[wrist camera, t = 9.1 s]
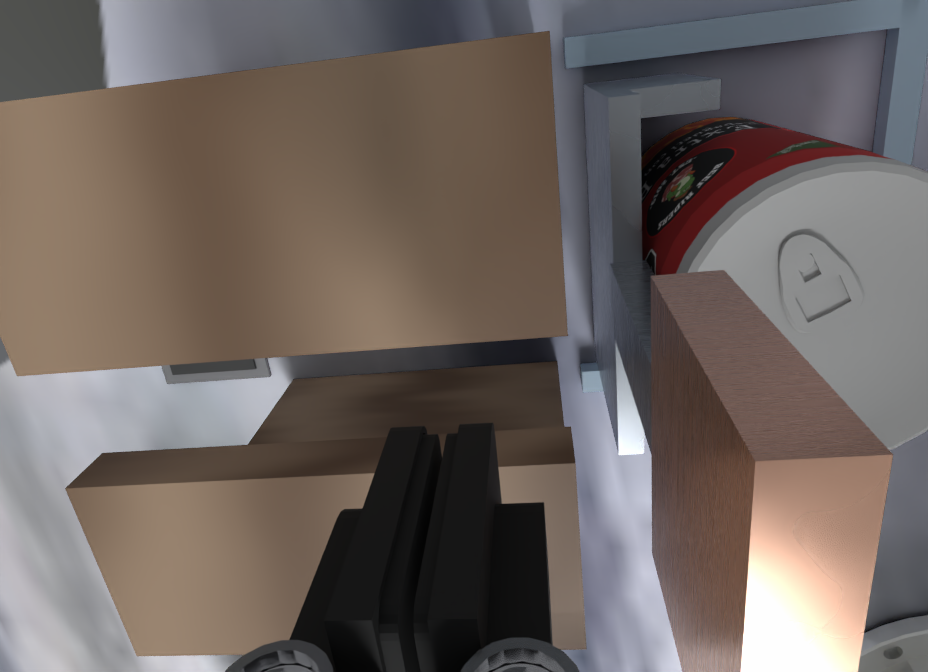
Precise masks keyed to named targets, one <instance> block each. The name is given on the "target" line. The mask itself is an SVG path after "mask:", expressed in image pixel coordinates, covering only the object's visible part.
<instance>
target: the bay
mask: <svg viewBox="0 0 928 672" xmlns="http://www.w3.org/2000/svg"><path fill="white" fill-rule="evenodd" d="M885 29H887V37H886V45H885V53H884V61H883V70H882V78H881V86H880V94H879V102H878V110H877V118H876V126H875V135H874V143H873V151H872V152H873V153H876V154H879V155H881V156H884V157H888V158H891V159H895V160H898V161H900V162H903V163H906V164H908V165H911V164H912V158H913V151H914V144H915V137H916V130H917V124H918V117H919V110H920V103H921V96H922V89H923V83H924V76H925V69H926V62H927V55H928V0H854V1H846V2H839V3H831V4H823V5H815V6H808V7H800V8H792V9H784V10H776V11H769V12H761V13H753V14H745V15H738V16H730V17H722V18H714V19H706V20H699V21H691V22H683V23H675V24H668V25H660V26H652V27H644V28H636V29H629V30H621V31H613V32H605V33H598V34H590V35H582V36H574V37H566V38H563V40H564V59H565V68H566V69H567V68H575V67H583V66H592V65H600V64H608V63H616V62H624V61H632V60H640V59H649V58H657V57H665V56H673V55H681V54H689V53H697V52H706V51H714V50H722V49H730V48H738V47H746V46H754V45H763V44H771V43H779V42H787V41H795V40H803V39H812V38H820V37H828V36H836V35H844V34H852V33H860V32H869V31H877V30H885ZM581 383H582V390H583V393H586V392H602V391H604V390H603V386H602V382H601V377H600V373H599V369H598V365H597V363H584V364H581Z"/></svg>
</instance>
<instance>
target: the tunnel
mask: <svg viewBox="0 0 928 672" xmlns="http://www.w3.org/2000/svg"><path fill="white" fill-rule="evenodd" d="M558 336H568V332H567V315H566V298H565V282H564V265H563V248H562V232H561V215H560V198H559V181H558V165H557V148H556V131H555V115H554V98H553V81H552V64H551V48H550V31H545V32H537V33H529V34H522V35H514V36H506V37H499V38H491V39H483V40H476V41H468V42H460V43H453V44H445V45H437V46H430V47H422V48H414V49H407V50H399V51H391V52H383V53H376V54H368V55H360V56H353V57H345V58H337V59H330V60H322V61H314V62H307V63H299V64H291V65H284V66H276V67H268V68H261V69H253V70H245V71H238V72H230V73H222V74H214V75H207V76H199V77H191V78H184V79H176V80H168V81H161V82H153V83H145V84H138V85H130V86H122V87H115V88H107V89H99V90H92V91H84V92H76V93H69V94H61V95H53V96H45V97H38V98H30V99H23V100H15V101H7V102H0V337H1V339H2V342H3V344H4V346H5V349H6V351H7V353H8V356H9V358H10V360H11V363H12V365H13V367H14V370H15V372H16V374H17V376H26V375H40V374H54V373H67V372H81V371H94V370H108V369H122V368H135V367H149V366H163V365H176V364H190V363H204V362H217V361H231V360H245V359H258V358H272V357H285V356H299V355H313V354H326V353H340V352H354V351H367V350H381V349H395V348H408V347H422V346H436V345H449V344H463V343H477V342H490V341H504V340H517V339H531V338H545V337H558ZM472 423H493V424H494V429H495V438H496V448H497V458H498V468H499V479H500V489H501V499H502V504H508V503H537V502H544V508H545V522H546V536H547V551H548V567H549V584H550V602H551V621H552V640H553V646H555V647H556V648H558V649H560V650H576V649H586V633H585V616H584V599H583V583H582V566H581V549H580V532H579V516H578V499H577V482H576V466H575V456H574V448H573V441H572V433H571V427H564V421H563V411H562V402H561V393H560V384H559V374H558V365H557V361H552V362H538V363H523V364H509V365H494V366H480V367H465V368H451V369H436V370H421V371H407V372H392V373H378V374H363V375H349V376H334V377H320V378H305V379H293V381H292V382H291V384H290V385H289V387H288V388H287V389H286V391H285V392H284V394H283V395H282V397H281V398H280V399H279V401H278V402H277V404H276V405H275V407H274V408H273V409H272V411H271V412H270V414H269V415H268V417H267V418H266V419H265V421H264V422H263V424H262V425H261V427H260V428H259V429H258V431H257V432H256V434H255V435H254V437H253V438H252V439H251V441H250V442H249V444H248V445H237V446H219V447H202V448H184V449H166V450H149V451H131V452H113V453H102V454H101V455H100V456H99V457H98V458H97V459H96V460H95V461H94V462H93V463H92V464H90V465H89V466H88V467H87V468H86V469H85V470H84V471H83V472H82V473H81V474H80V475H79V476H78V477H77V478H76V479H75V480H74V481H73V482H72V483H71V484H70V485H68V486H67V487H66V488H65V489H66V491H67V494H68V496H69V498H70V501H71V503H72V505H73V508H74V510H75V512H76V515H77V517H78V519H79V522H80V524H81V526H82V529H83V531H84V533H85V536H86V538H87V540H88V543H89V545H90V547H91V550H92V552H93V554H94V557H95V559H96V561H97V564H98V566H99V569H100V571H101V573H102V576H103V578H104V580H105V583H106V585H107V587H108V590H109V592H110V594H111V597H112V599H113V601H114V604H115V606H116V608H117V611H118V613H119V615H120V618H121V620H122V622H123V625H124V627H125V629H126V632H127V634H128V636H129V639H130V641H131V643H132V646H133V648H134V650H135V653H136V655H137V656H181V655H245V654H247V653H249V652H251V651H253V650H254V649H256V648H258V647H260V646H262V645H265V644H269V643H273V642H277V641H280V640H289V639H290V637H291V634H292V632H293V629H294V627H295V624H296V622H297V619H298V616H299V614H300V611H301V609H302V606H303V604H304V601H305V599H306V596H307V593H308V591H309V588H310V586H311V583H312V581H313V578H314V576H315V573H316V570H317V568H318V565H319V563H320V560H321V558H322V555H323V553H324V550H325V547H326V545H327V542H328V540H329V537H330V535H331V532H332V530H333V527H334V525H335V522H336V519H337V517H338V515H339V514H340V512H341V511H342V510H344V509H361V508H363V506H364V503H365V500H366V497H367V494H368V491H369V488H370V485H371V482H372V479H373V476H374V474H375V471H376V468H377V465H378V462H379V459H380V456H381V453H382V450H383V447H384V445H385V442H386V439H387V436H388V433H389V430H390V429H391V428H392V427H410V426H425V427H426V430H427V434H438V436H439V440H440V446H441V453H442V456H443V451H444V445H445V440H446V436H447V434H448V433H458V429H459V425H460V424H472Z"/></svg>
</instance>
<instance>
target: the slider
mask: <svg viewBox="0 0 928 672" xmlns="http://www.w3.org/2000/svg"><path fill="white" fill-rule="evenodd" d="M720 94H721V79H717V78H710V77H703V76H696V75H689V74H682V73H672V74H664V75H655V76H647V77H638V78H630V79H622V80H613V81H605V82H597V83H588V84H584V108H585V131H586V155H587V178H588V202H589V225H590V249H591V272H592V295H593V319H594V342H595V356H596V361H597V365H598V369H599V373H600V377H601V382H602V386H603V390H604V394H605V399H606V403H607V407H608V411H609V416H610V420H611V424H612V428H613V433H614V437H615V441H616V445H617V450H618V454H619V455H628V454H644V432H645V435H646V439H647V442H648V445H649V448H650V451H651V454H652V554H653V558H654V562H655V566H656V570H657V574H658V578H659V581H660V585H661V589H662V593H663V597H664V601H665V605H666V609H667V613H668V617H669V621H670V624H671V628H672V632H673V636H674V640H675V644H676V648H677V652H678V656H679V660H680V663H681V667H682V671H683V672H858V666H859V660H860V654H861V648H862V642H863V636H864V630H865V624H866V617H867V611H868V605H869V599H870V593H871V587H872V581H873V575H874V569H875V563H876V556H877V550H878V544H879V538H880V532H881V526H882V520H883V514H884V508H885V501H886V495H887V489H888V483H889V477H890V471H891V465H892V459H893V454H892V453H891V452H890V451H889V450H888V448H887V447H886V446H885V445H884V444H883V443H882V442H881V441H880V440H879V439H878V438H877V436H876V435H875V434H874V433H873V432H872V431H871V430H870V429H869V428H868V427H867V426H866V424H865V423H864V422H863V421H862V420H861V419H860V418H859V417H858V416H857V415H856V414H855V412H854V411H853V410H852V409H851V408H850V407H849V406H848V405H847V404H846V403H845V402H844V400H843V399H842V398H841V397H840V396H839V395H838V394H837V393H836V392H835V391H834V390H833V388H832V387H831V386H830V385H829V384H828V383H827V382H826V381H825V380H824V379H823V377H822V376H821V375H820V374H819V373H818V372H817V371H816V370H815V369H814V368H813V367H812V365H811V364H810V363H809V362H808V361H807V360H806V359H805V358H804V357H803V356H802V355H801V353H800V352H799V351H798V350H797V349H796V348H795V347H794V346H793V345H792V344H791V343H790V341H789V340H788V339H787V338H786V337H785V336H784V335H783V334H782V333H781V332H780V331H779V329H778V328H777V327H776V326H775V325H774V324H773V323H772V322H771V321H770V320H769V318H768V317H767V316H766V315H765V314H764V313H763V312H762V311H761V310H760V309H759V308H758V306H757V305H756V304H755V303H754V302H753V301H752V300H751V299H750V298H749V297H748V296H747V294H746V293H745V292H744V291H743V290H742V289H741V288H740V287H739V286H738V285H737V284H736V282H735V281H734V280H733V279H732V278H731V277H730V276H729V275H728V274H727V273H726V272H725V270H716V271H704V272H692V273H680V274H668V275H654V273H653V271H652V270H651V268H650V266H649V265H648V263H647V261H646V260H642V188H641V118H647V117H656V116H665V115H674V114H683V113H692V112H701V111H709V110H718V109H720Z"/></svg>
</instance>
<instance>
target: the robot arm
mask: <svg viewBox="0 0 928 672" xmlns="http://www.w3.org/2000/svg"><path fill="white" fill-rule="evenodd" d="M225 672H579V670H578V667H577V665H576V664H575V663H574V662H573V661H572V660H571V659H570V658H569V657H568V656H567V655H566V654H565V652H563V651H562V650H560V649H558V648H556V647H555V646H553V640H552V621H551V602H550V584H549V567H548V551H547V536H546V522H545V508H544V502H537V503H508V504H502V499H501V489H500V479H499V468H498V458H497V448H496V438H495V429H494V424H493V423H472V424H460V425H459V429H458V433H448V434H447V436H446V440H445V445H444V451H443V456H442V453H441V446H440V440H439V436H438V434H427V430H426V427H425V426H410V427H392V428H391V429H390V430H389V433H388V436H387V439H386V442H385V445H384V447H383V450H382V453H381V456H380V459H379V462H378V465H377V468H376V471H375V474H374V476H373V479H372V482H371V485H370V488H369V491H368V494H367V497H366V500H365V503H364V506H363V508H361V509H344V510H342V511H341V512H340V514H339V515H338V517H337V519H336V522H335V525H334V527H333V530H332V532H331V535H330V537H329V540H328V542H327V545H326V547H325V550H324V553H323V555H322V558H321V560H320V563H319V565H318V568H317V570H316V573H315V576H314V578H313V581H312V583H311V586H310V588H309V591H308V593H307V596H306V599H305V601H304V604H303V606H302V609H301V611H300V614H299V616H298V619H297V622H296V624H295V627H294V629H293V632H292V634H291V637H290V639H289V640H280V641H277V642H273V643H269V644H265V645H262V646H260V647H258V648H256V649H254V650H253V651H251V652H249V653H247V654H245V655H244V656H242V657H241V658H240V659H238V660H237V661H236V662H235V663H233V664H232V665H231V666H230V667H229V668H228V669H227V670H226V671H225ZM858 672H928V615H925V616H918V617H912V618H906V619H903V620H899V621H896V622H892V623H889V624H885V625H882V626H880V627H877V628H875V629H873V630H871V631H868V632H866V633H864V636H863V642H862V648H861V654H860V660H859V666H858Z"/></svg>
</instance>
